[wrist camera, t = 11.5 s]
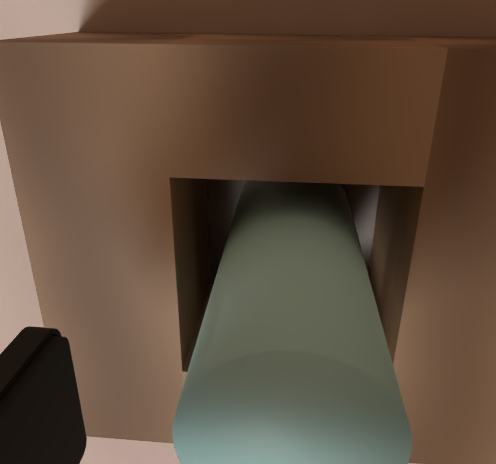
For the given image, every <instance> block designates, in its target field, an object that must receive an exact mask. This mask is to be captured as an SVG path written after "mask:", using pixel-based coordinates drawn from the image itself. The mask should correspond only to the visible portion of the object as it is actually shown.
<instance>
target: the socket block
mask: <svg viewBox="0 0 496 464" xmlns="http://www.w3.org/2000/svg"><path fill="white" fill-rule="evenodd" d="M0 121H1V125H2V130H3V135H4V140H5V144H6V149H7V154H8V159H9V163H10V168H11V173H12V177H13V182H14V187H15V192H16V196H17V201H18V206H19V211H20V215H21V220H22V225H23V229H24V234H25V239H26V244H27V248H28V253H29V258H30V262H31V267H32V272H33V277H34V281H35V286H36V291H37V296H38V300H39V305H40V310H41V314H42V319H43V324H44V328H55V329H58V330H59V331H60V333H61V336H62V337H67V339H68V341H69V344H70V350H71V355H72V361H73V366H74V371H75V377H76V382H77V388H78V393H79V399H80V404H81V410H82V415H83V421H84V426H85V431H86V436H91V437H103V438H115V439H127V440H139V441H152V442H164V443H174V442H173V421H174V416H175V412H176V408H177V405H178V402H179V398H180V395H181V392H182V388H183V385H184V382H185V378H186V375H187V372H188V368H189V365H190V362H191V358H192V355H193V351H194V348H195V345H196V341H197V338H198V335H199V331H200V328H201V325H202V321H203V318H204V315H205V311H206V308H207V305H208V301H209V298H210V295H211V291H212V288H213V285H214V284H210V271H209V239H208V206H207V179H225V180H252V181H279V182H306V183H333V184H360V185H380V191H379V199H378V206H377V214H376V221H375V229H374V237H373V244H372V252H371V259H370V267H369V274H368V276H369V279H370V283H371V287H372V290H373V294H374V297H375V301H376V305H377V308H378V312H379V316H380V319H381V323H382V327H383V330H384V334H385V338H386V341H387V345H388V349H389V352H390V356H391V359H392V363H393V367H394V370H395V374H396V378H397V381H398V385H399V389H400V392H401V396H402V400H403V403H404V407H405V411H406V414H407V418H408V422H409V425H410V429H411V436H412V449H411V456H410V459H409V462H408V463H420V464H496V37H420V36H340V35H261V34H181V33H101V32H74V33H65V34H55V35H45V36H35V37H25V38H16V39H6V40H0Z"/></svg>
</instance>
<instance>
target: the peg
mask: <svg viewBox="0 0 496 464" xmlns="http://www.w3.org/2000/svg"><path fill="white" fill-rule="evenodd" d="M173 442H174V447H175V450H176V453H177V456H178V459H179V460H180V462H181V464H408V462H409V459H410V456H411V449H412V436H411V429H410V425H409V422H408V418H407V414H406V411H405V407H404V403H403V400H402V396H401V392H400V389H399V385H398V381H397V378H396V374H395V370H394V367H393V363H392V359H391V356H390V352H389V349H388V345H387V341H386V338H385V334H384V330H383V327H382V323H381V319H380V316H379V312H378V308H377V305H376V301H375V297H374V294H373V290H372V287H371V283H370V279H369V276H368V272H367V268H366V265H365V261H364V257H363V254H362V250H361V246H360V243H359V239H358V235H357V232H356V228H355V224H354V221H353V217H352V214H351V210H350V206H349V203H348V199H347V196H346V193H345V191H344V189H343V188H342V186H341V184H333V183H306V182H279V181H252V180H249V181H248V183H247V184H246V185H245V187H244V189H243V191H242V193H241V195H240V198H239V201H238V204H237V208H236V211H235V214H234V218H233V221H232V224H231V228H230V231H229V234H228V238H227V241H226V244H225V248H224V251H223V254H222V258H221V261H220V264H219V268H218V271H217V275H216V278H215V281H214V285H213V288H212V291H211V295H210V298H209V301H208V305H207V308H206V311H205V315H204V318H203V321H202V325H201V328H200V331H199V335H198V338H197V341H196V345H195V348H194V351H193V355H192V358H191V362H190V365H189V368H188V372H187V375H186V378H185V382H184V385H183V388H182V392H181V395H180V398H179V402H178V405H177V408H176V412H175V416H174V421H173Z"/></svg>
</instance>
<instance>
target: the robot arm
mask: <svg viewBox="0 0 496 464" xmlns="http://www.w3.org/2000/svg"><path fill="white" fill-rule="evenodd" d="M85 447H86V431H85V426H84V421H83V415H82V410H81V404H80V399H79V393H78V388H77V382H76V377H75V371H74V366H73V361H72V355H71V350H70V344H69V341H68V339H67V337H62V336H61V333H60V331H59V330H58V329H55V328H42V327H26V328H24V329H23V330H22V331H21V332H20V333H19V334H18V335H17V336H16V338H15V339H14V340H13V341H12V342H11V343H10V344H9V345H8V346H7V348H6V349H5V350H4V351H3V352H2V353H1V354H0V464H79V463H80V461H81V459H82V457H83V454H84V451H85Z"/></svg>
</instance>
